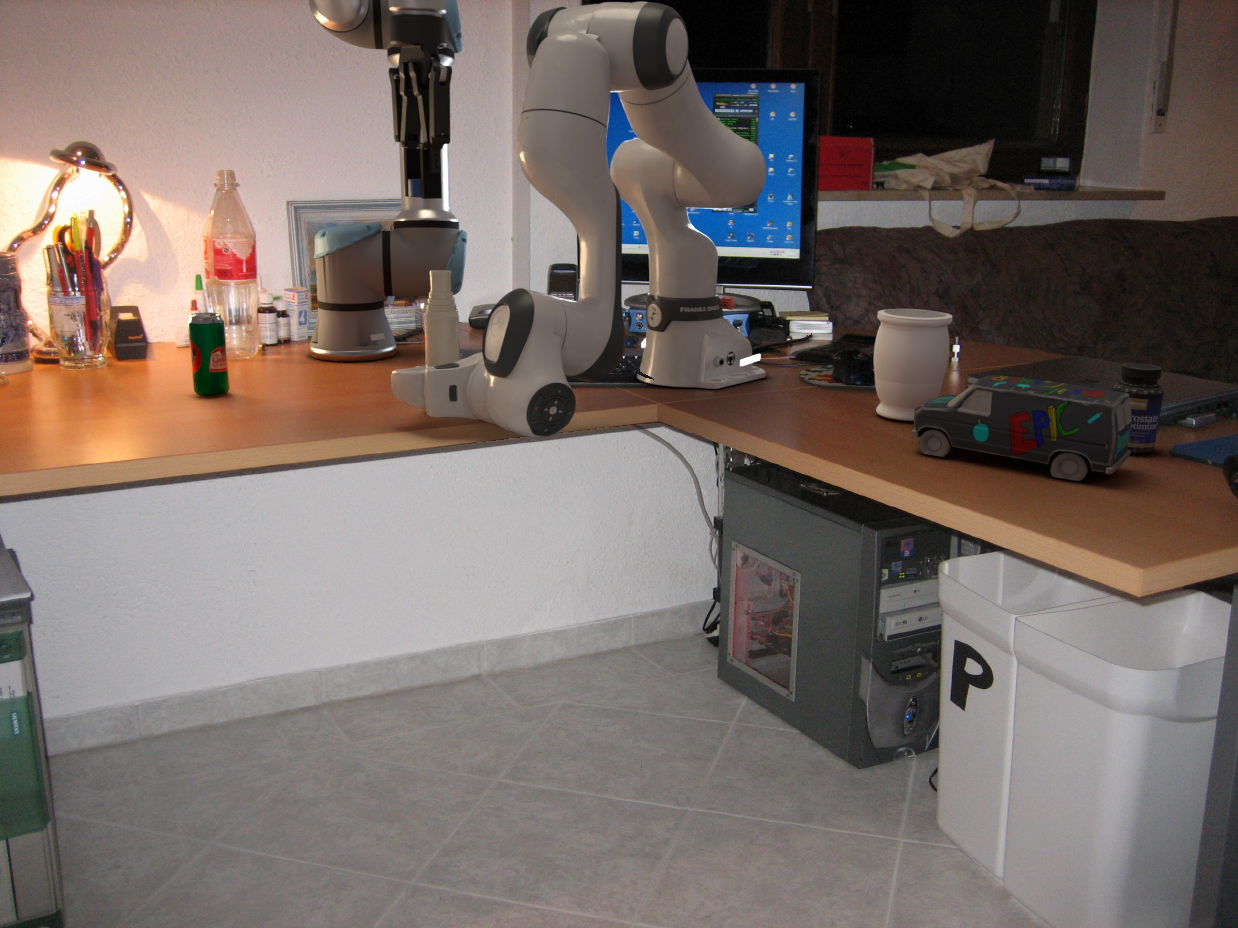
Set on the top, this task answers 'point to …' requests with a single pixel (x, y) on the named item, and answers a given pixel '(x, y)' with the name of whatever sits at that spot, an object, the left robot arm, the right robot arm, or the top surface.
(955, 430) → the toy van
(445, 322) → the bottle
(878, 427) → the top surface
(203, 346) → the soda can
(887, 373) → the jar
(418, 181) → the cap
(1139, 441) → the pill bottle
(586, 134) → the right robot arm
